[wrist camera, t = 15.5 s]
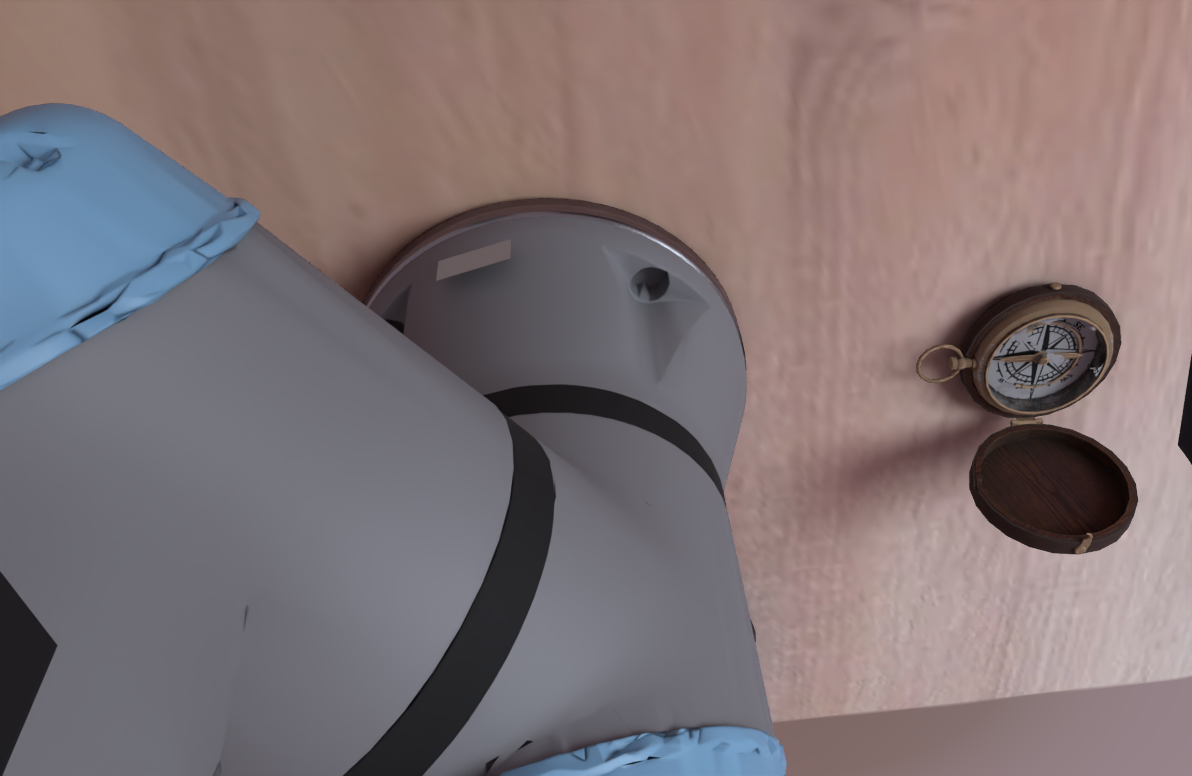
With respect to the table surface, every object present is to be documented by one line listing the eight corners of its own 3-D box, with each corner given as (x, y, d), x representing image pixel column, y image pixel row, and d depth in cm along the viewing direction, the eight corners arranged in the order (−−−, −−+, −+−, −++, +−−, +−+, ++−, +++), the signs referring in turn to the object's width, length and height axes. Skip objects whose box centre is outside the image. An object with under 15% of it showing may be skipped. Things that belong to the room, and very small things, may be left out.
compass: (1129, 272, 43) (1223, 387, 37) (1082, 431, 48) (1159, 555, 42) (921, 284, 43) (982, 402, 37) (895, 442, 47) (946, 569, 42)
